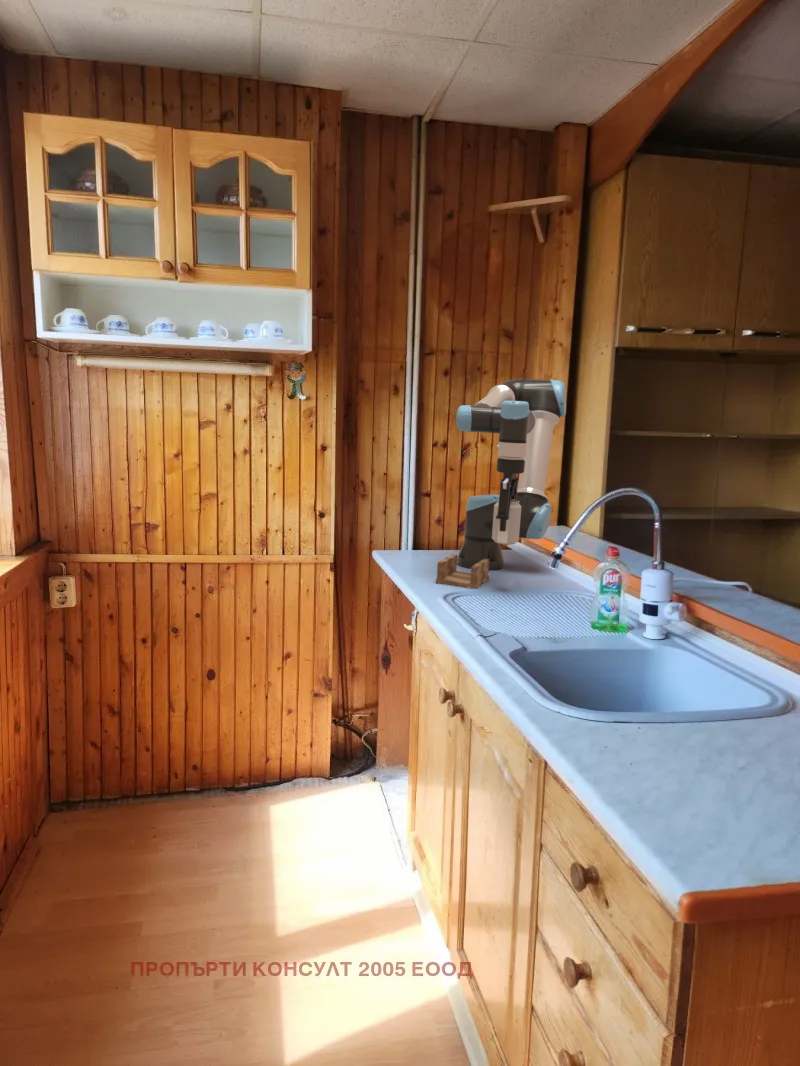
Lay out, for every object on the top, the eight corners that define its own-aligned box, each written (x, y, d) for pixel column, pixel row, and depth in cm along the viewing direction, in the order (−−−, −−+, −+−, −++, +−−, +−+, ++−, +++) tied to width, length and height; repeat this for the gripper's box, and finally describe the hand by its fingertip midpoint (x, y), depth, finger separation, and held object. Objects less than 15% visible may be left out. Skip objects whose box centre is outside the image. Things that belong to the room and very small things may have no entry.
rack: (450, 574, 221) (452, 554, 220) (488, 579, 217) (490, 559, 216) (435, 583, 208) (437, 562, 207) (475, 588, 204) (477, 567, 203)
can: (517, 540, 205) (520, 498, 203) (520, 545, 198) (523, 502, 196) (490, 538, 206) (493, 497, 203) (492, 544, 198) (495, 500, 196)
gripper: (505, 454, 208) (499, 532, 212) (489, 459, 189) (483, 544, 193) (531, 456, 206) (524, 535, 210) (518, 461, 187) (511, 548, 191)
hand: (505, 539), depth 202 cm, fingers closed on can, 7 cm apart
